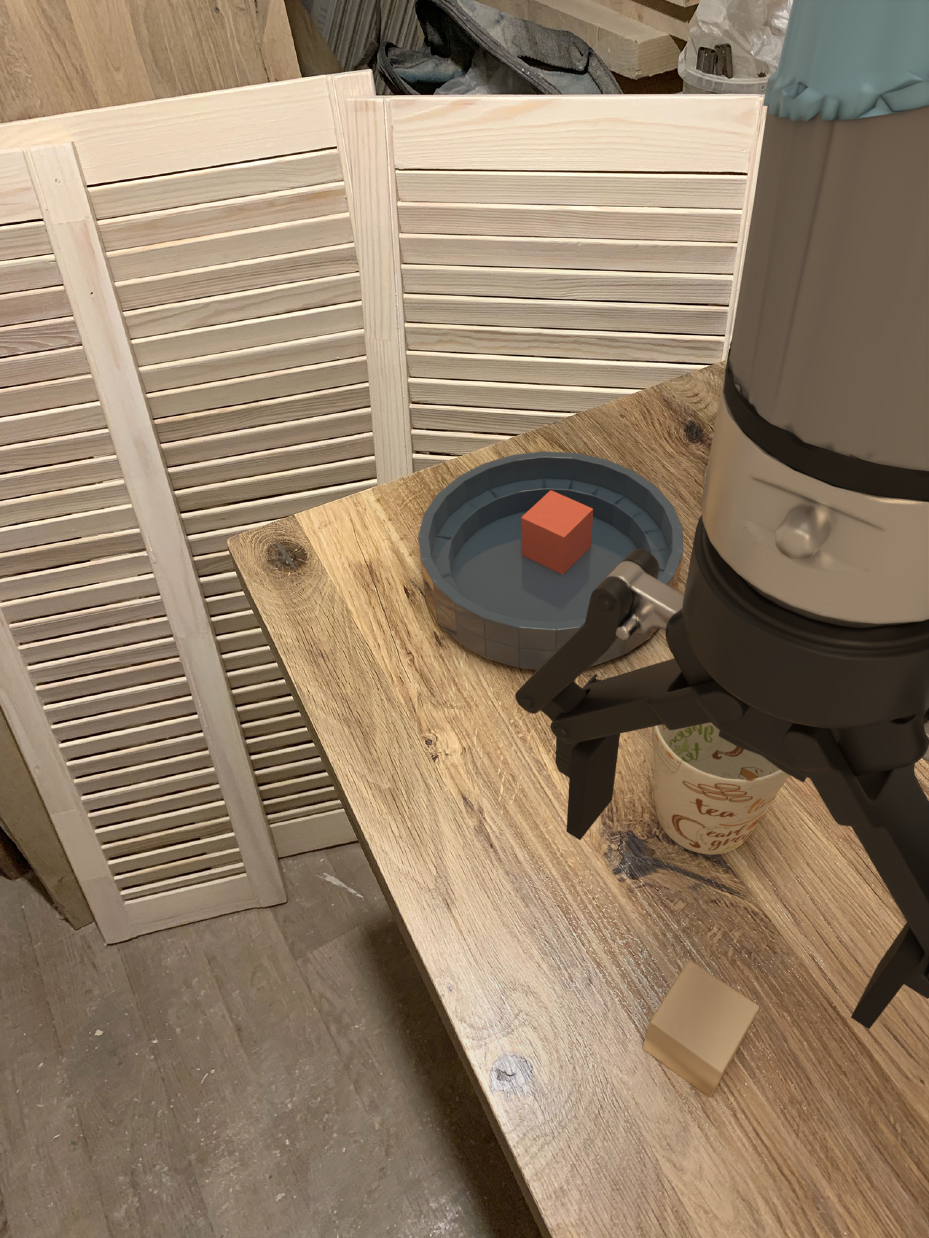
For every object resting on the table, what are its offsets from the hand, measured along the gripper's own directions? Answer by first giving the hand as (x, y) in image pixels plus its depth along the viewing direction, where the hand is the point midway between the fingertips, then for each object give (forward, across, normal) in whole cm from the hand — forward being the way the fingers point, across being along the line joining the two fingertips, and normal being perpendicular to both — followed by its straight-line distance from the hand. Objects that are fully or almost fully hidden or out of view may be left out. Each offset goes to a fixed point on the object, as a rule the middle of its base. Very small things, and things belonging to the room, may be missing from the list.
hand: (720, 899), depth 40 cm
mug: (+14, -6, +14) cm, 20 cm away
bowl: (+13, -25, +23) cm, 36 cm away
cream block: (+13, +1, -1) cm, 13 cm away
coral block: (+13, -26, +25) cm, 38 cm away
